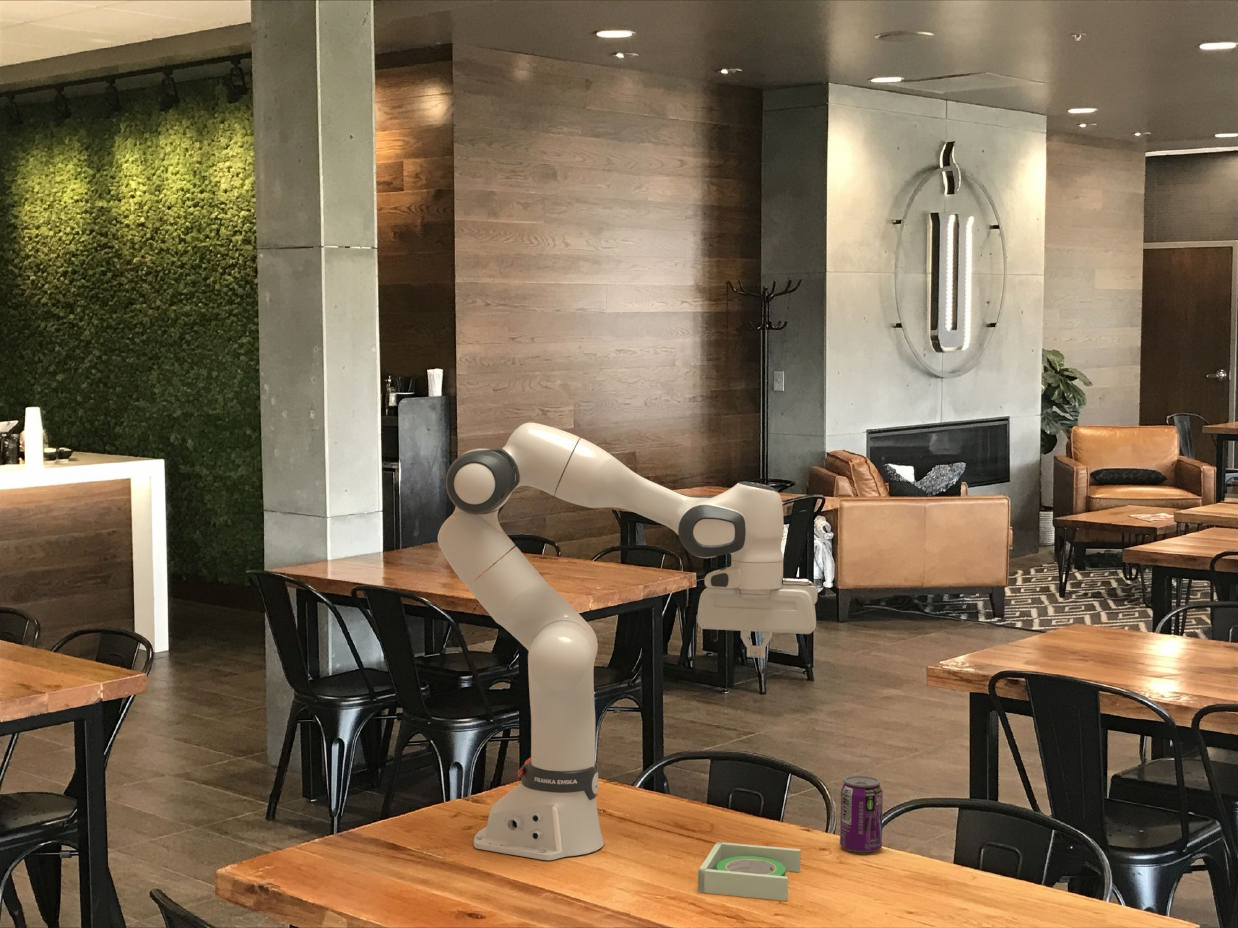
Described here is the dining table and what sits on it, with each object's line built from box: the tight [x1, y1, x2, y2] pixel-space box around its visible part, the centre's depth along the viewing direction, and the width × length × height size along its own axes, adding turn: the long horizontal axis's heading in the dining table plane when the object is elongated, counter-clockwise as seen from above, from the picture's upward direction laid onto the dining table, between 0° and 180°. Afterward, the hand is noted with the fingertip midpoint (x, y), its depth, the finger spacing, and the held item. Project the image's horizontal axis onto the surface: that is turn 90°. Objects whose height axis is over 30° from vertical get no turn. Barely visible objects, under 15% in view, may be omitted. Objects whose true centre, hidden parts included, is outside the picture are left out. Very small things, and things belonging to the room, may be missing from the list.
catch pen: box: [697, 841, 802, 902], centre depth 234 cm, size 14×15×4 cm
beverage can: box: [839, 775, 884, 855], centre depth 251 cm, size 7×7×12 cm
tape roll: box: [717, 856, 787, 876], centre depth 234 cm, size 11×11×3 cm
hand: (756, 656), depth 250 cm, fingers closed
